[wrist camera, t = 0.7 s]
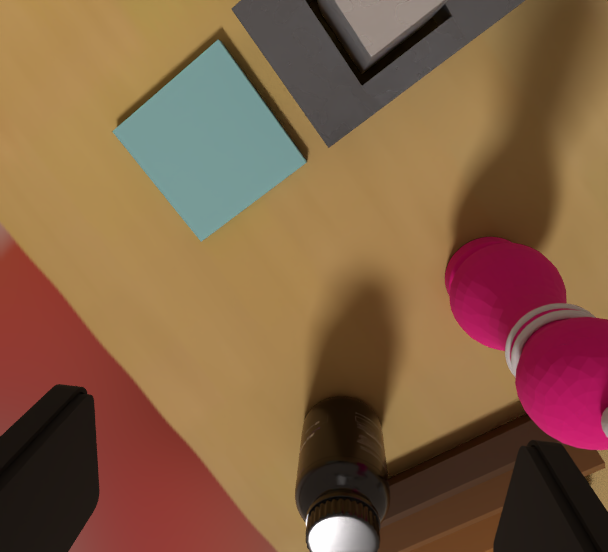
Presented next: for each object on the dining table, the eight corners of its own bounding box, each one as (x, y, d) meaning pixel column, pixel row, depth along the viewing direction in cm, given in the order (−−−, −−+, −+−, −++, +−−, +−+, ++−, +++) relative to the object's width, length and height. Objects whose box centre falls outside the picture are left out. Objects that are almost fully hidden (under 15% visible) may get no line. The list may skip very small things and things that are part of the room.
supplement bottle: (294, 400, 42) (278, 505, 30) (373, 387, 41) (387, 491, 30) (311, 465, 44) (302, 588, 32) (387, 454, 43) (405, 576, 31)
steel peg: (382, -44, 31) (401, -114, 22) (423, 25, 32) (460, -13, 23) (319, 9, 32) (311, -36, 23) (361, 74, 34) (371, 57, 24)
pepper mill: (433, 317, 39) (527, 510, 20) (442, 228, 36) (558, 347, 17) (526, 321, 38) (714, 520, 19) (541, 230, 36) (771, 356, 17)
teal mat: (220, 41, 33) (218, 39, 33) (307, 161, 36) (306, 162, 35) (117, 131, 36) (112, 131, 35) (203, 239, 38) (201, 241, 37)
